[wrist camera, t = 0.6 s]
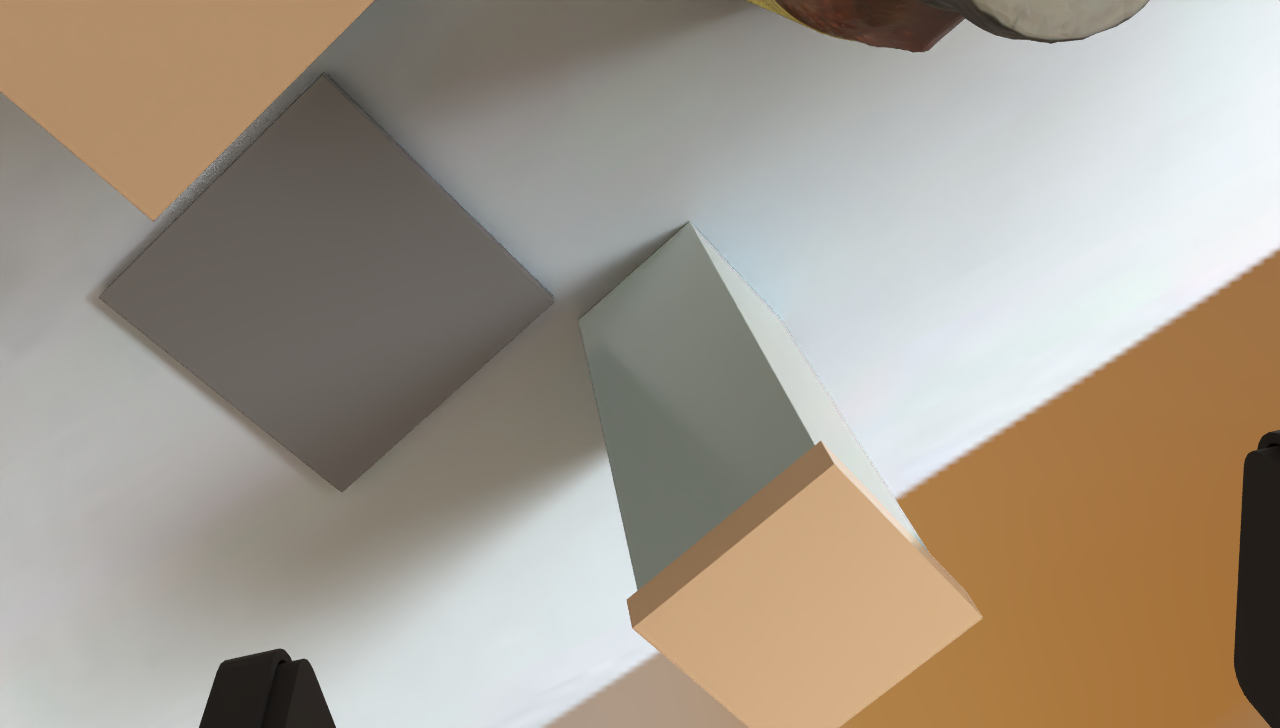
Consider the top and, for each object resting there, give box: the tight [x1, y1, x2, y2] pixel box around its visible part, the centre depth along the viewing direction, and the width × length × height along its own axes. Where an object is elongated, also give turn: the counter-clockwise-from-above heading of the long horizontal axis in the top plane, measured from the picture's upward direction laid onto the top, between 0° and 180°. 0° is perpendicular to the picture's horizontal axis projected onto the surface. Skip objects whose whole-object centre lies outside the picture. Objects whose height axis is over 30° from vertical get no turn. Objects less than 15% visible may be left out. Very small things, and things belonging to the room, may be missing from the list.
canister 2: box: [578, 221, 983, 728], centre depth 33 cm, size 5×5×17 cm
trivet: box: [99, 73, 554, 492], centre depth 38 cm, size 10×10×1 cm
